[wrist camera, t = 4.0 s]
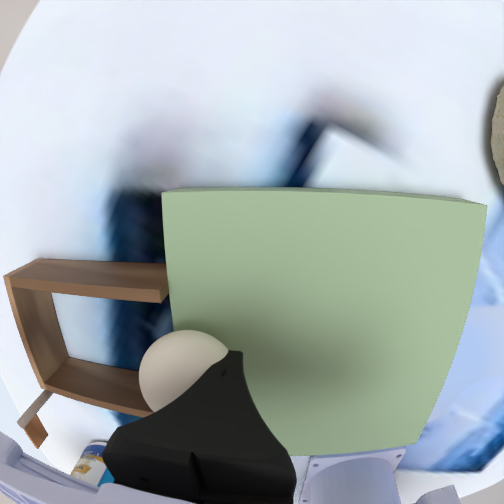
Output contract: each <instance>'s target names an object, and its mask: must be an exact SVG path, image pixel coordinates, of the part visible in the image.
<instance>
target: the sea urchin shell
mask: <svg viewBox="0 0 504 504" xmlns="http://www.w3.org/2000/svg"><path fill="white" fill-rule="evenodd" d="M496 101H497V103H496V108H495V111H494V116H493V118H492V136H491V147H492V153H493V160H494V161H495V165H496V167H497V169H498V173H499V176H500V182H501V183H502V184H503V186H504V86H503V87H502V89H501V90H500V93H499V94H498V95H497V99H496Z"/></svg>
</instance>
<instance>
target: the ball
mask: <svg viewBox="0 0 504 504" xmlns="http://www.w3.org/2000/svg"><path fill="white" fill-rule="evenodd" d="M227 353H228V348H227V347H226V346H225V345H224V344H223V343H222V342H220V341H219V340H217V339H216V338H214V337H213V336H211V335H208V334H206V333H203V332H199V331H194V330H180V331H175V332H171V333H169V334H166V335H164V336H162V337H161V338H159V339H158V340H156V341H155V342H154V343H153V344H152V345H151V346H150V347H149V348H148V350H147V351H146V353H145V355H144V357H143V359H142V361H141V365H140V369H139V384H140V389H141V392H142V395H143V397H144V399H145V401H146V403H147V404H148V406H149V407H150V408H151V409H152V410H153V411H154V412H156V411H158V410H160V409H161V408H163V407H165V406H166V405H168V404H169V403H171V402H172V401H174V400H175V399H176V398H178V397H179V396H180V395H181V394H183V393H184V392H185V391H186V390H187V389H188V388H190V387H191V386H192V385H193V384H194V383H195V382H196V381H197V380H198V379H199V378H200V377H201V376H202V374H203V373H204V372H205V371H206V370H207V369H208V368H209V367H210V366H211V365H212V364H215V363H217V362H218V361H220V360H221V359H223V358H224V357H225V356H226V355H227Z"/></svg>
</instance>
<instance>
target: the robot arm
mask: <svg viewBox="0 0 504 504" xmlns="http://www.w3.org/2000/svg"><path fill="white" fill-rule="evenodd" d="M405 452H406V447H405V446H400V447H394V448H387V449H381V450H373V451H365V452H356V453H345V454H332V455H315V456H313V457H311V459H310V462H309V466H308V470H307V474H306V478H305V482H304V486H303V490H302V493H301V497H300V500H299V504H401V501H400V497H399V493H398V489H397V485H396V481H395V478H394V474H393V473H394V471H395V470H396V468H397V466H398V465H399V463H400V461H401V459H402V458H403V456H404V454H405ZM102 459H103V462H104V464H105V465H106V467H107V468H108V470H109V472H110V473H111V475H112V476H113V478H114V482H113V483H105V484H102V485H101V486H100V487H98V486H95V485H93V484H90V483H87V482H85V481H82V480H80V479H77V478H75V477H73V476H70V475H68V474H66V473H64V472H61V471H59V470H57V469H55V468H53V467H51V466H49V465H46V464H45V463H43V462H41V461H39V460H37V459H35V458H33V457H31V456H29V455H28V454H26V453H24V452H23V450H22V449H21V447H20V446H19V445H18V444H17V443H16V442H15V441H14V440H13V439H12V438H10V437H8V436H7V435H5V434H3V433H1V432H0V492H1V493H3V494H4V495H5V496H7V497H8V498H10V499H11V500H13V501H14V502H16V503H17V504H293V495H294V491H295V487H296V483H297V478H296V472H295V469H294V466H293V463H292V461H291V458H290V456H289V454H288V451H287V450H286V448H285V447H284V446H283V445H282V444H281V443H280V442H279V441H278V440H277V438H276V437H275V436H274V435H273V433H272V432H271V431H270V429H269V428H268V426H267V425H266V423H265V422H264V420H263V419H262V417H261V415H260V413H259V412H258V410H257V408H256V406H255V404H254V402H253V399H252V397H251V394H250V392H249V389H248V386H247V383H246V379H245V375H244V371H243V353H242V352H241V351H233V350H228V353H227V355H226V356H225V357H224V358H223V359H221V360H220V361H218V362H217V363H215V364H212V365H211V366H210V367H209V368H208V369H207V370H206V371H205V372H204V373H203V374H202V376H201V377H200V378H199V379H198V380H197V381H196V382H195V383H194V384H193V385H192V386H191V387H190V388H188V389H187V390H186V391H185V392H184V393H183V394H181V395H180V396H179V397H178V398H176V399H175V400H174V401H172V402H171V403H169V404H168V405H166V406H165V407H163V408H161V409H160V410H158V411H156V412H154V413H152V414H151V415H149V416H146V417H144V418H142V419H140V420H137V421H135V422H132V423H129V424H126V425H124V426H120V427H117V429H116V430H115V432H114V433H113V434H112V436H111V437H110V439H109V441H108V443H107V445H106V446H105V448H104V450H103V452H102ZM414 504H461V503H460V500H459V497H458V495H457V492H456V489H455V487H454V485H450V486H447V487H444V488H440V489H437V490H434V491H431V492H428V493H426V494H424V495H423V496H421V497H420V498H419V499H418V501H417V502H416V503H414Z"/></svg>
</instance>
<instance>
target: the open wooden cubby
mask: <svg viewBox="0 0 504 504" xmlns="http://www.w3.org/2000/svg"><path fill="white" fill-rule="evenodd" d="M3 277H4V281H5V285H6V289H7V293H8V297H9V301H10V304H11V308H12V311H13V315H14V318H15V321H16V324H17V328H18V331H19V334H20V337H21V339H22V342H23V345H24V348H25V351H26V353H27V356H28V358H29V361H30V363H31V366H32V368H33V371H34V373H35V376H36V378H37V380H38V382H39V385H40V387H41V388H42V389H45V390H44V391H43V392H42V394H41V395H40V396H39V397H38V398H37V399H36V400H35V401H34V403H33V404H32V405H31V406H30V407H29V408H28V409H27V411H26V412H25V413H24V414H23V415H22V416H21V418H20V419H19V420H18V421H17V423H18V425H20V427H22V428H23V429H24V430H25V432H26V434H27V435H28V436H29V438H30V440H31V441H32V443H33V444H34V446H35V447H36V448H37V449H38V448H39V447H40V445H41V444H42V443H43V441H44V440H45V439H46V437H47V436H48V433H47V432H46V430H45V428H44V427H43V425H42V423H41V421H40V420H39V418H38V416H37V414H36V413H37V412H38V411H39V409H40V408H41V407H42V406H43V405H44V404H45V402H46V401H47V400H48V399H49V398H50V396H51V395H52V394H53V393H56V394H59V395H62V396H65V397H68V398H71V399H74V400H77V401H81V402H84V403H88V404H91V405H95V406H98V407H102V408H106V409H109V410H113V411H117V412H122V413H126V414H130V415H135V416H140V417H146V416H149V415H151V414H152V413H154V411H153V410H152V409H151V408H150V407H149V406H148V404H147V403H146V401H145V399H144V397H143V395H142V392H141V389H140V384H139V371H133V370H127V369H122V368H117V367H111V366H106V365H101V364H97V363H92V362H88V361H83V360H79V359H75V358H71V357H69V356H68V353H67V350H66V347H65V344H64V340H63V337H62V334H61V330H60V327H59V323H58V320H57V316H56V312H55V308H54V304H53V300H52V296H51V292H54V293H62V294H71V295H79V296H88V297H98V298H108V299H119V300H130V301H142V302H154V303H161V302H162V301H163V300H164V299H165V297H166V296H167V295H168V294H169V286H168V276H167V266H166V263H138V262H109V261H84V260H60V259H36V260H34V261H32V262H30V263H28V264H26V265H24V266H22V267H20V268H18V269H16V270H14V271H12V272H10V273H8V274H6V275H4V276H3Z"/></svg>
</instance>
